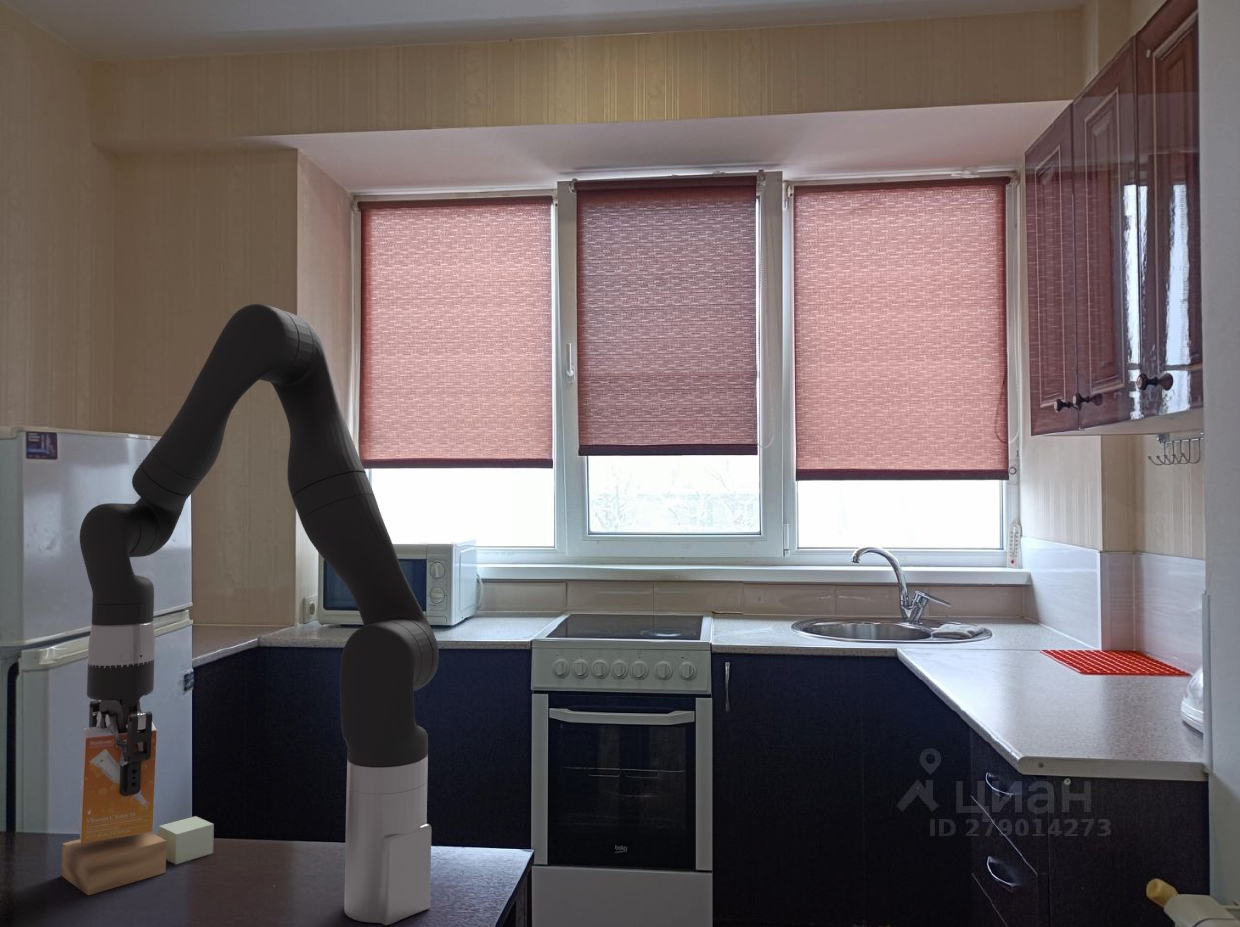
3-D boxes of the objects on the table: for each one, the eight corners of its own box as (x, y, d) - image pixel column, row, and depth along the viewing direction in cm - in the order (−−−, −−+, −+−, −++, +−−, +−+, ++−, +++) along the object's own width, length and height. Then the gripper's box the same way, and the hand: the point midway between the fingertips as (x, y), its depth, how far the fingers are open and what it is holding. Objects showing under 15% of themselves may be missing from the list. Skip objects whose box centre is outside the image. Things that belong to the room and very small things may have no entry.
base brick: (165, 872, 114) (166, 840, 114) (88, 895, 107) (89, 861, 108) (136, 855, 120) (137, 824, 120) (61, 875, 113) (62, 843, 113)
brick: (212, 854, 121) (213, 824, 121) (175, 865, 117) (176, 834, 117) (194, 845, 124) (195, 816, 124) (157, 856, 120) (158, 825, 120)
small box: (80, 845, 109) (84, 737, 110) (77, 830, 114) (81, 727, 115) (154, 832, 113) (157, 728, 114) (149, 818, 119) (152, 719, 119)
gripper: (176, 660, 113) (172, 793, 112) (129, 649, 123) (126, 771, 122) (112, 668, 108) (107, 807, 107) (68, 656, 117) (64, 784, 116)
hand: (117, 788), depth 114 cm, fingers closed on small box, 7 cm apart
